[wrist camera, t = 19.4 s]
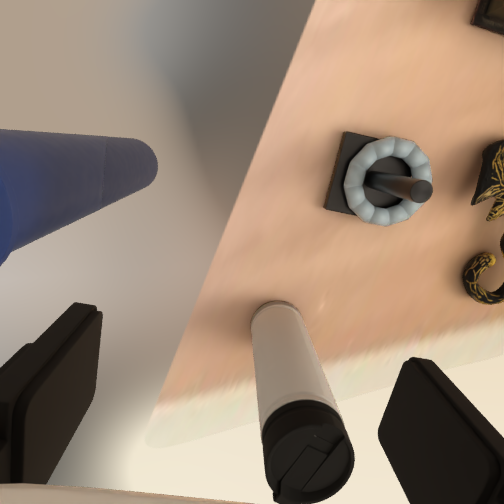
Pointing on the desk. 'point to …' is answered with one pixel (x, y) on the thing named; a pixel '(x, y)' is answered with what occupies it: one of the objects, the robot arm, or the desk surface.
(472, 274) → the toy snake
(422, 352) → the desk surface
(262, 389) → the travel mug
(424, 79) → the desk surface
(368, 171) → the stand
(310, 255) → the desk surface
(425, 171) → the ring
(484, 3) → the diary
